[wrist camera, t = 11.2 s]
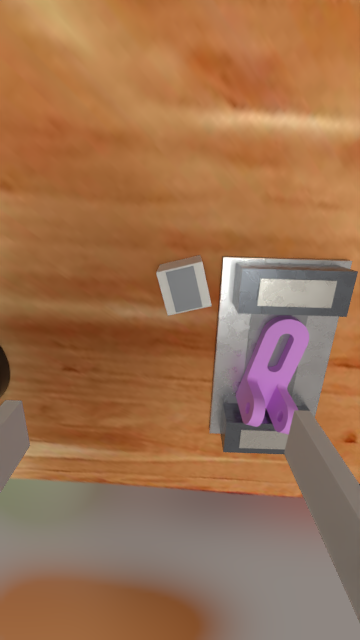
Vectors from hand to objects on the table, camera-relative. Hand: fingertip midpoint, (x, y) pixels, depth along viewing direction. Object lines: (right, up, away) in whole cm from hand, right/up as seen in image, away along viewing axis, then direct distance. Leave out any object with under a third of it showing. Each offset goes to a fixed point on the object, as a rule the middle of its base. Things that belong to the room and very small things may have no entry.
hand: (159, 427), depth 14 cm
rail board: (+13, +1, +25) cm, 28 cm away
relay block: (+2, +10, +21) cm, 24 cm away
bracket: (+13, 0, +24) cm, 27 cm away
